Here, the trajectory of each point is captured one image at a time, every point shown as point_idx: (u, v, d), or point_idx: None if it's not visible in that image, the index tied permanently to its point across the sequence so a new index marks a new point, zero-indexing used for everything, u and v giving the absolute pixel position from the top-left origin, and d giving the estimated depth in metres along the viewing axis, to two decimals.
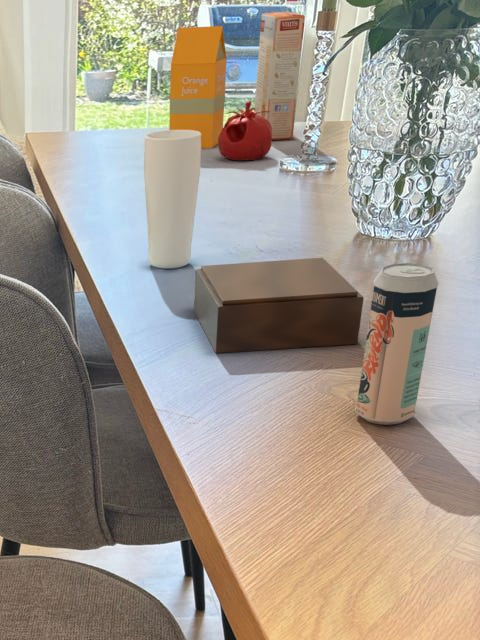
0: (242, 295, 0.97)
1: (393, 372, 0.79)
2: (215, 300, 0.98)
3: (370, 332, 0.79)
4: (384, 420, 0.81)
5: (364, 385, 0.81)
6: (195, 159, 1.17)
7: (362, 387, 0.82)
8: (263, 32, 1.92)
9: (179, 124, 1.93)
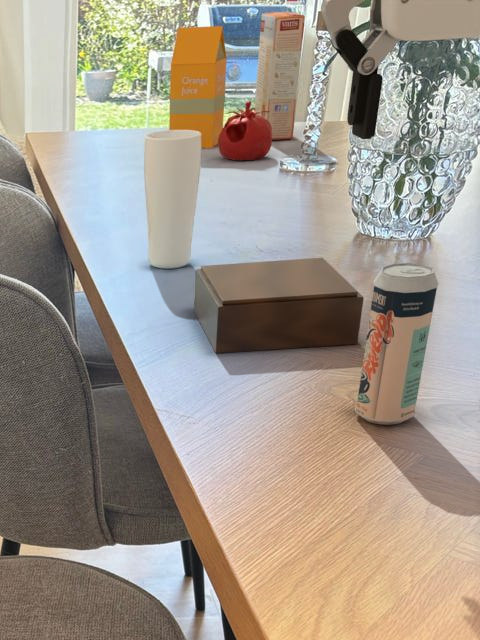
0: (242, 295, 0.97)
1: (393, 372, 0.79)
2: (215, 300, 0.98)
3: (370, 332, 0.79)
4: (384, 420, 0.81)
5: (364, 385, 0.81)
6: (195, 159, 1.17)
7: (362, 387, 0.82)
8: (263, 32, 1.92)
9: (179, 124, 1.93)
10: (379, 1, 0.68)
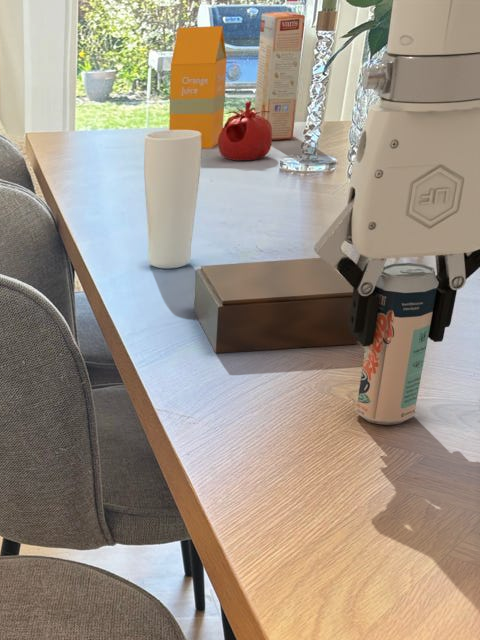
0: (242, 295, 0.97)
1: (393, 372, 0.79)
2: (215, 300, 0.98)
3: None
4: (384, 420, 0.81)
5: (364, 385, 0.81)
6: (195, 159, 1.17)
7: (362, 387, 0.82)
8: (263, 32, 1.92)
9: (179, 124, 1.93)
10: None
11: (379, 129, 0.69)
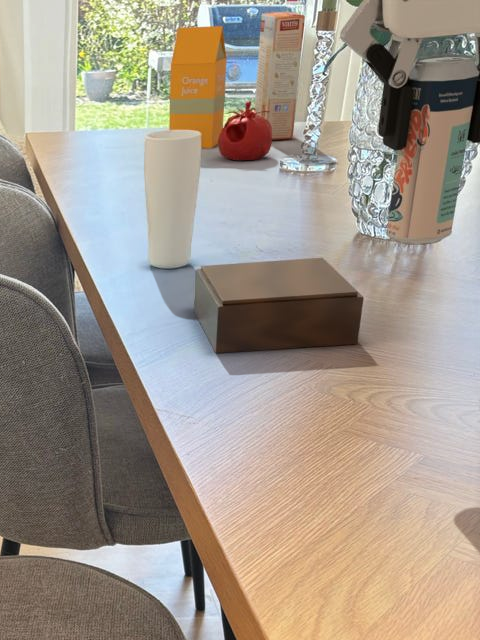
0: (242, 295, 0.97)
1: (429, 179, 0.71)
2: (215, 300, 0.98)
3: None
4: (419, 238, 0.73)
5: (396, 200, 0.73)
6: (195, 159, 1.17)
7: (393, 203, 0.74)
8: (263, 32, 1.92)
9: (179, 124, 1.93)
10: None
11: None
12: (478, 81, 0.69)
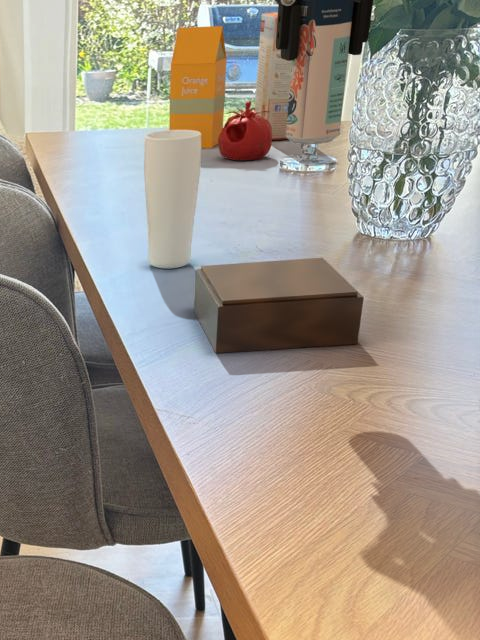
0: (242, 295, 0.97)
1: (317, 85, 0.85)
2: (215, 300, 0.98)
3: None
4: (311, 137, 0.87)
5: (292, 105, 0.87)
6: (195, 159, 1.17)
7: (290, 108, 0.87)
8: (263, 32, 1.92)
9: (179, 124, 1.93)
10: None
11: None
12: (355, 2, 0.83)
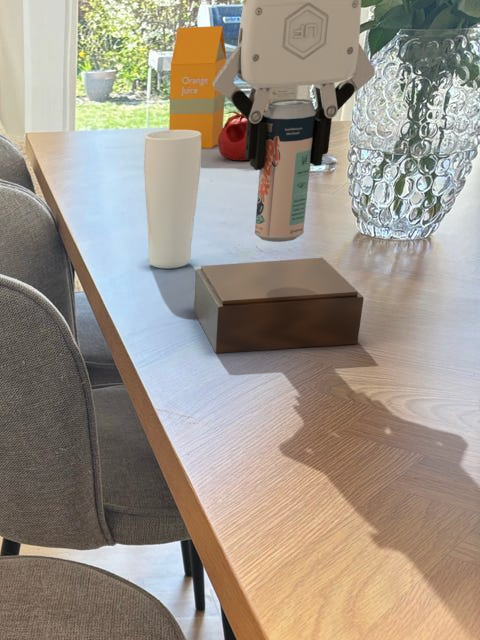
0: (242, 295, 0.97)
1: (281, 192, 0.94)
2: (215, 300, 0.98)
3: None
4: (277, 236, 0.97)
5: (260, 207, 0.97)
6: (195, 159, 1.17)
7: (258, 209, 0.97)
8: None
9: (179, 124, 1.93)
10: None
11: None
12: (316, 120, 0.92)
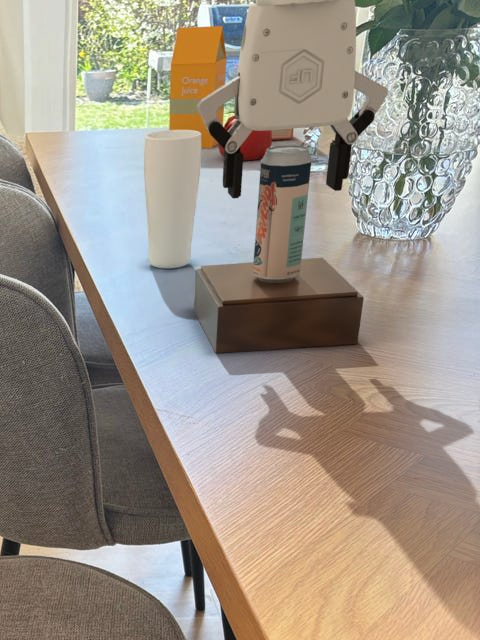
0: (242, 295, 0.97)
1: (278, 235, 0.97)
2: (215, 300, 0.98)
3: (260, 203, 0.97)
4: (274, 278, 0.99)
5: (257, 249, 0.99)
6: (195, 159, 1.17)
7: (256, 251, 0.99)
8: None
9: (179, 124, 1.93)
10: None
11: (254, 20, 0.87)
12: (336, 146, 0.94)
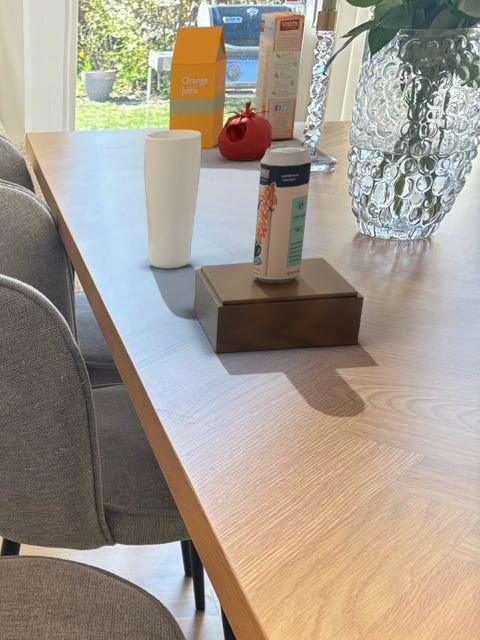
0: (242, 295, 0.97)
1: (278, 235, 0.97)
2: (215, 300, 0.98)
3: (260, 203, 0.97)
4: (274, 278, 0.99)
5: (257, 249, 0.99)
6: (195, 159, 1.17)
7: (256, 251, 0.99)
8: (263, 32, 1.92)
9: (179, 124, 1.93)
10: None
11: None
12: None
